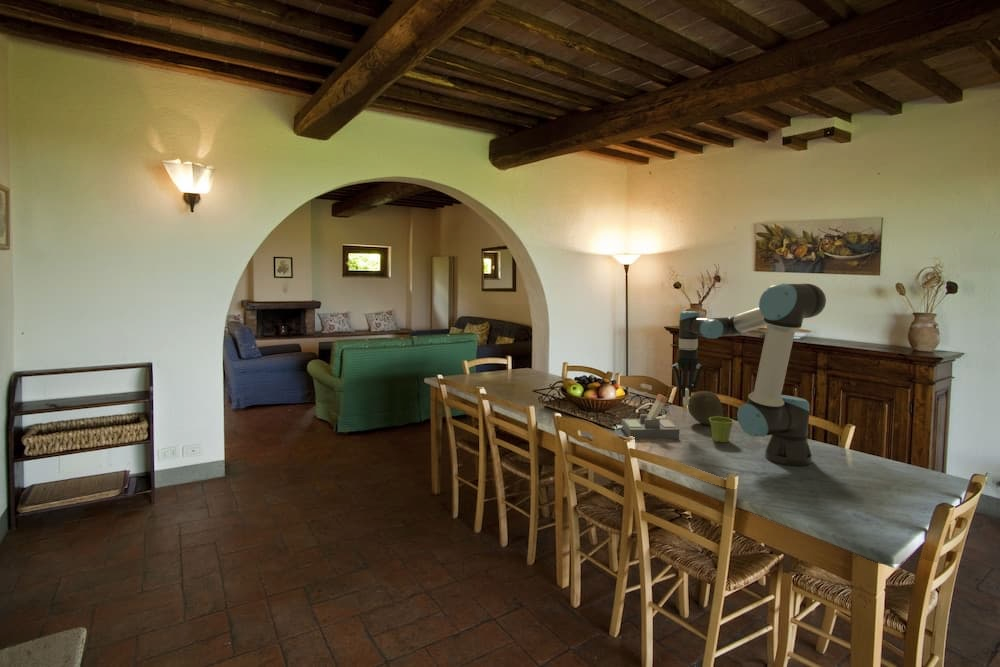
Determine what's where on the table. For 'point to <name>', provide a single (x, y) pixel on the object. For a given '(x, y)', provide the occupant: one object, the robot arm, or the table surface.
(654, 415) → the toggle lever
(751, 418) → the robot arm
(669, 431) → the switch box
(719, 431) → the plant pot
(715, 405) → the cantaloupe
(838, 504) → the table surface
